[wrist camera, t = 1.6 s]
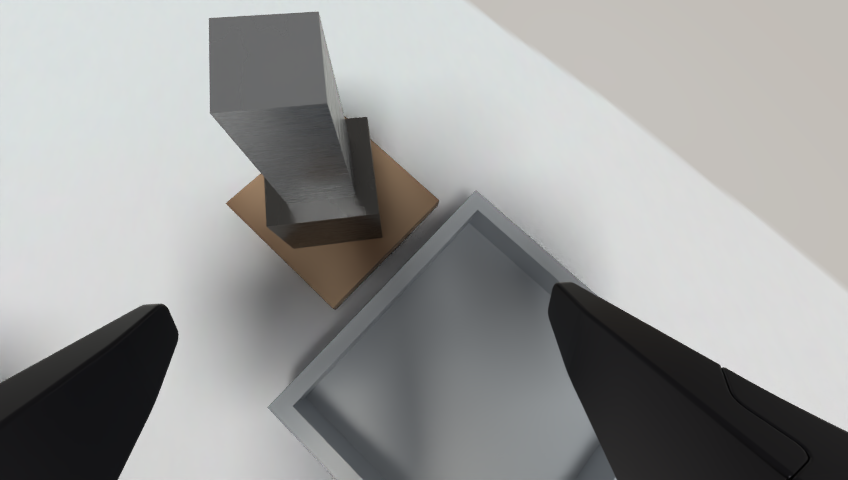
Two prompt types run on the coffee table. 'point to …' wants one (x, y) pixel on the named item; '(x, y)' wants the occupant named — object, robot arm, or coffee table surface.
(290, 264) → the stud mount
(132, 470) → the coffee table surface
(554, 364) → the bin
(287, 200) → the strut
